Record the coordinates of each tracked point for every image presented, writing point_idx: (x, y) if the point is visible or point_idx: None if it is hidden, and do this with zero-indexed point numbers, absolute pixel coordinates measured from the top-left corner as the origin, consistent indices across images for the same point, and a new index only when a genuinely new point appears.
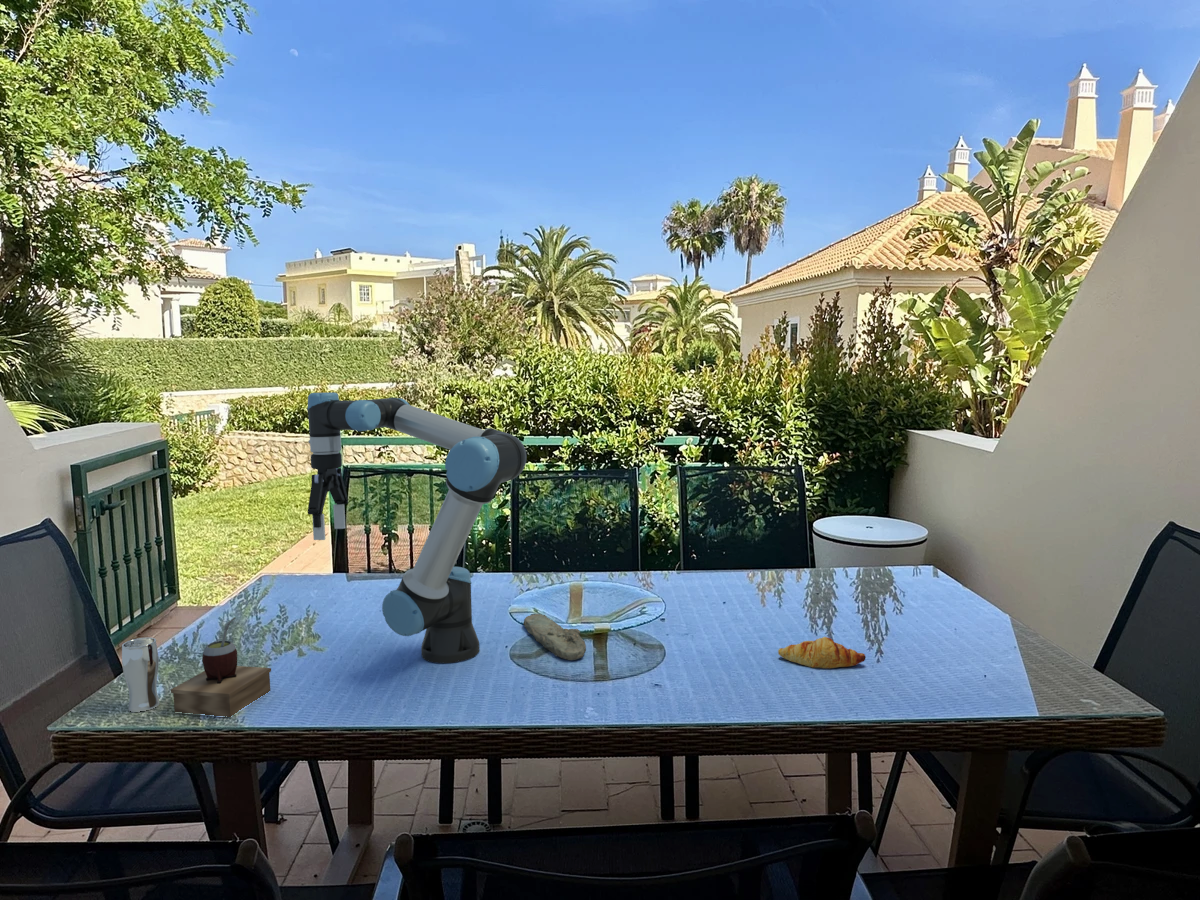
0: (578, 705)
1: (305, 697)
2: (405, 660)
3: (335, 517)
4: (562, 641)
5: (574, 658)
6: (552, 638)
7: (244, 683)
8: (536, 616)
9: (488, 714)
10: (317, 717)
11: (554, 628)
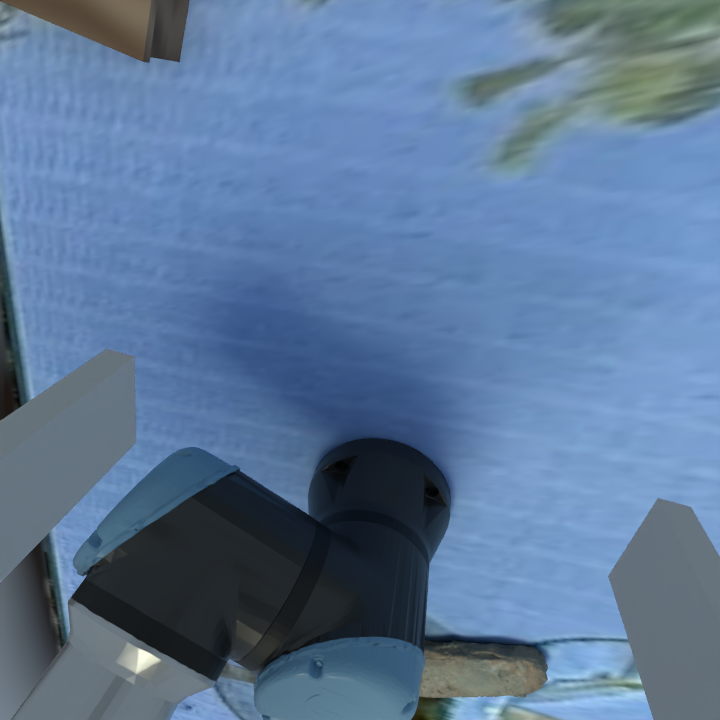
0: None
1: (141, 180)
2: (352, 402)
3: (706, 629)
4: None
5: None
6: None
7: (22, 3)
8: (517, 683)
9: (83, 515)
10: (42, 231)
11: (424, 686)
